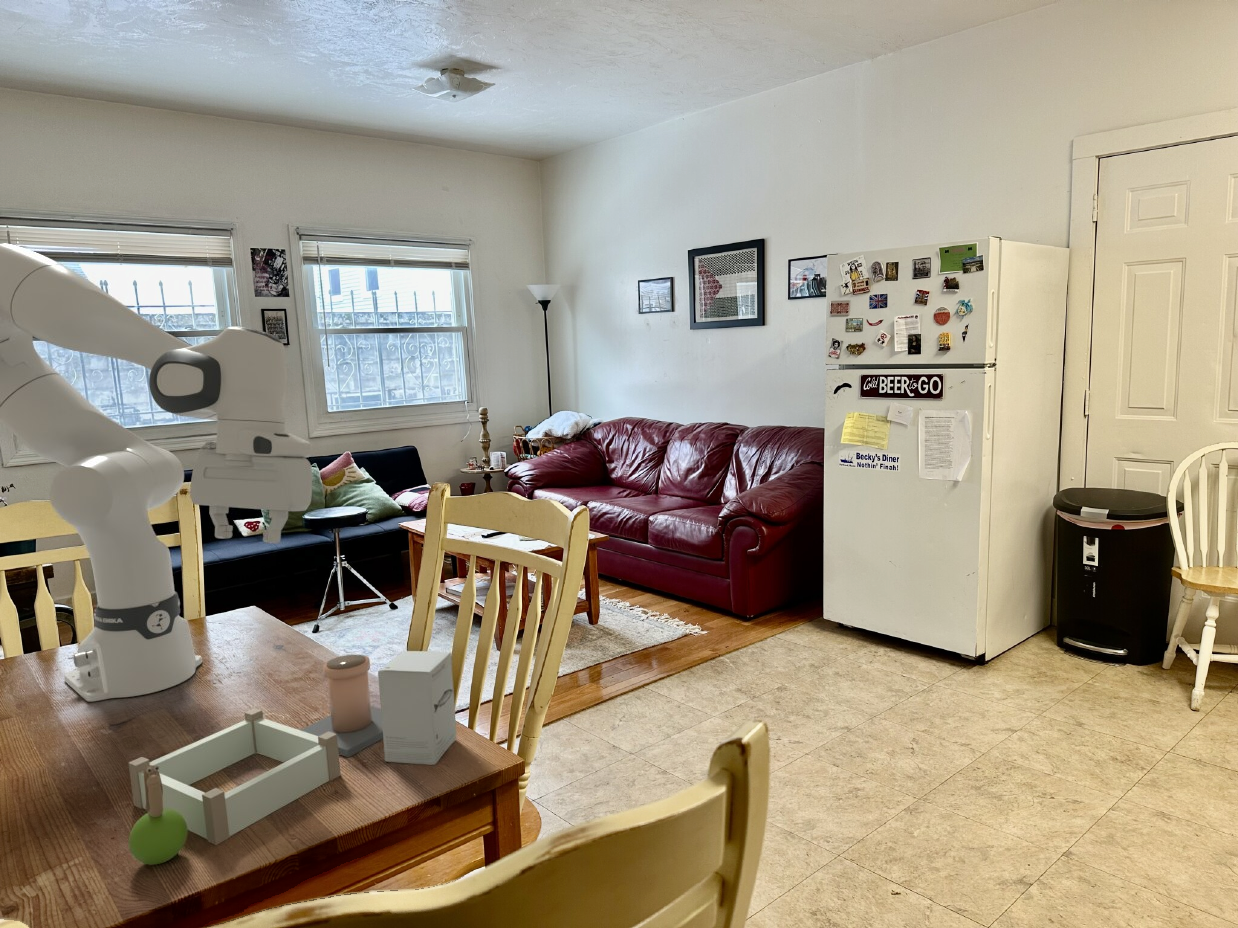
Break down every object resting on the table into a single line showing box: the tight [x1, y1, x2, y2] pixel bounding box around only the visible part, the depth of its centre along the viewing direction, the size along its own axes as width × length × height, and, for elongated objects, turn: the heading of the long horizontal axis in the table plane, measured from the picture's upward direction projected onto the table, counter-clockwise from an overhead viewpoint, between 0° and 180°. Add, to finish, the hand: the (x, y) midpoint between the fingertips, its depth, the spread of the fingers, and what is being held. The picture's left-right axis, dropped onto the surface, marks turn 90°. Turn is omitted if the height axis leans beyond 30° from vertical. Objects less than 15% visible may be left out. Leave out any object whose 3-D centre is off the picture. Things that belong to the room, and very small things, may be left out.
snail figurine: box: [128, 765, 188, 865], centre depth 87 cm, size 5×6×12 cm
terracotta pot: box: [322, 654, 372, 732], centre depth 116 cm, size 6×6×9 cm
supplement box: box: [377, 650, 458, 766], centre depth 109 cm, size 7×7×13 cm
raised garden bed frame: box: [128, 707, 342, 846], centre depth 101 cm, size 17×17×6 cm
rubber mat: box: [299, 705, 383, 758], centre depth 116 cm, size 11×11×1 cm
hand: (247, 540), depth 116 cm, fingers open, 8 cm apart
